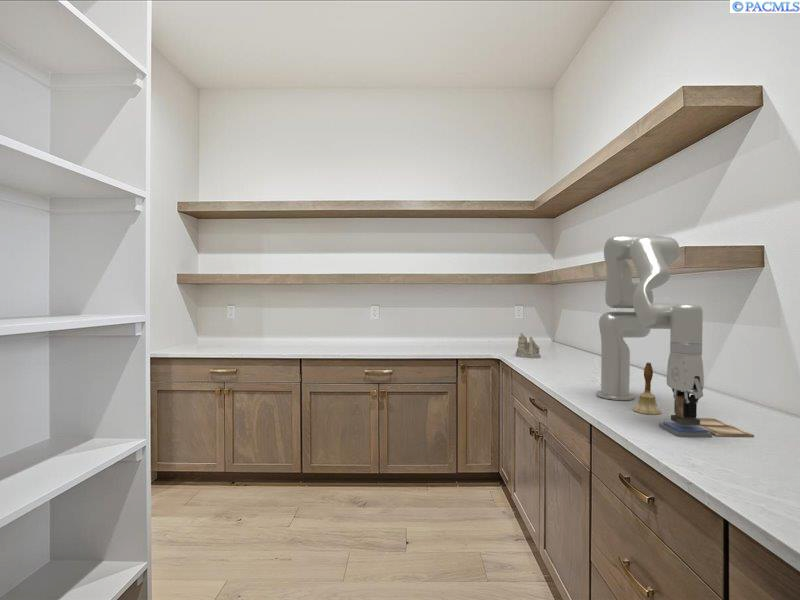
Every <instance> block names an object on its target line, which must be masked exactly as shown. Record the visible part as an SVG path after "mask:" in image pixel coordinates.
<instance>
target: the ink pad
mask: <svg viewBox="0 0 800 600" xmlns="http://www.w3.org/2000/svg"><path fill="white" fill-rule="evenodd" d="M660 427H661V428H660ZM659 428H660V429H662V430H664V431H666V430H667V431H666V432H668V433H670V434H672V435H674V436H676V437H677V436H681V437H680V438H713V435H712V433H710V432H708V430H706V429H704V428H701V427H699V426H697V425H680V424H678V423H676V422H674V421H663V423H661V422H660V423H659Z"/></svg>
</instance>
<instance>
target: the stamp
mask: <svg viewBox="0 0 800 600" xmlns="http://www.w3.org/2000/svg"><path fill="white" fill-rule="evenodd" d="M674 403H675V412H674V414H670V421H671V422H676V423H678V424H680V425H700V420H699V419H697V418H698V417H696V418H685V417H684V403H686V402H685V396H675V399H674Z"/></svg>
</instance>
